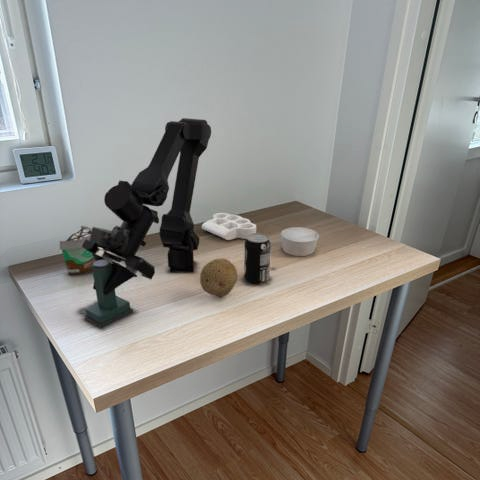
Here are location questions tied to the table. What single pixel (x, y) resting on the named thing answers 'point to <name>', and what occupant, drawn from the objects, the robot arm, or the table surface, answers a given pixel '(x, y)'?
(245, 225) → the white egg tray
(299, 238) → the ramekin
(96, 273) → the wiper
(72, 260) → the food container
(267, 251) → the beverage can
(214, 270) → the natural sponge
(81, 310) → the coffee spill
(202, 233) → the table surface
